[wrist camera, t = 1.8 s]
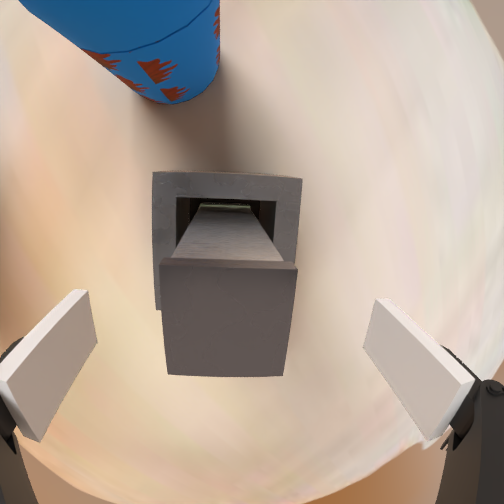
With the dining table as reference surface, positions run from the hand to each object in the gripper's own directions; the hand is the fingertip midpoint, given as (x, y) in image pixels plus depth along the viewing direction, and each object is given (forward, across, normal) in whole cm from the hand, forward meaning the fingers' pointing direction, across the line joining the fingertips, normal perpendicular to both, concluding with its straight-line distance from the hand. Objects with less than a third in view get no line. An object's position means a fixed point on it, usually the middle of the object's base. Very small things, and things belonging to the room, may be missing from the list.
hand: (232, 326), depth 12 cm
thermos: (+22, -8, +19) cm, 30 cm away
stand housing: (+22, 0, 0) cm, 22 cm away
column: (+22, 0, 0) cm, 22 cm away
